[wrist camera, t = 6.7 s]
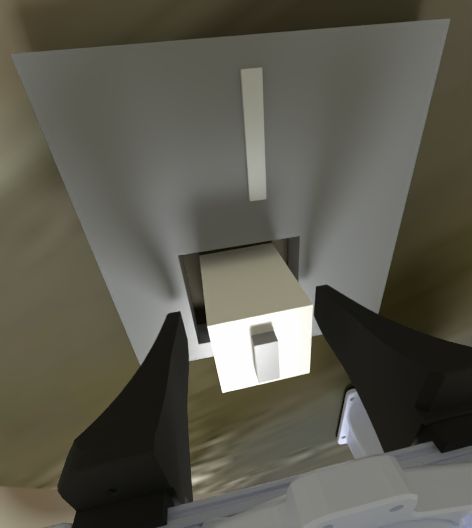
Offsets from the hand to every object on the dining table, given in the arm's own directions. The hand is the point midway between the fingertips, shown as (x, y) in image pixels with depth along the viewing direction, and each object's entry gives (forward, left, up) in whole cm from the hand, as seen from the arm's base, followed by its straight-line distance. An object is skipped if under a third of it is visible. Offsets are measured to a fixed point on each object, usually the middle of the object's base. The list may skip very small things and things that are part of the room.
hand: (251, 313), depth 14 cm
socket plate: (+4, -1, -3) cm, 5 cm away
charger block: (0, 0, -3) cm, 4 cm away
